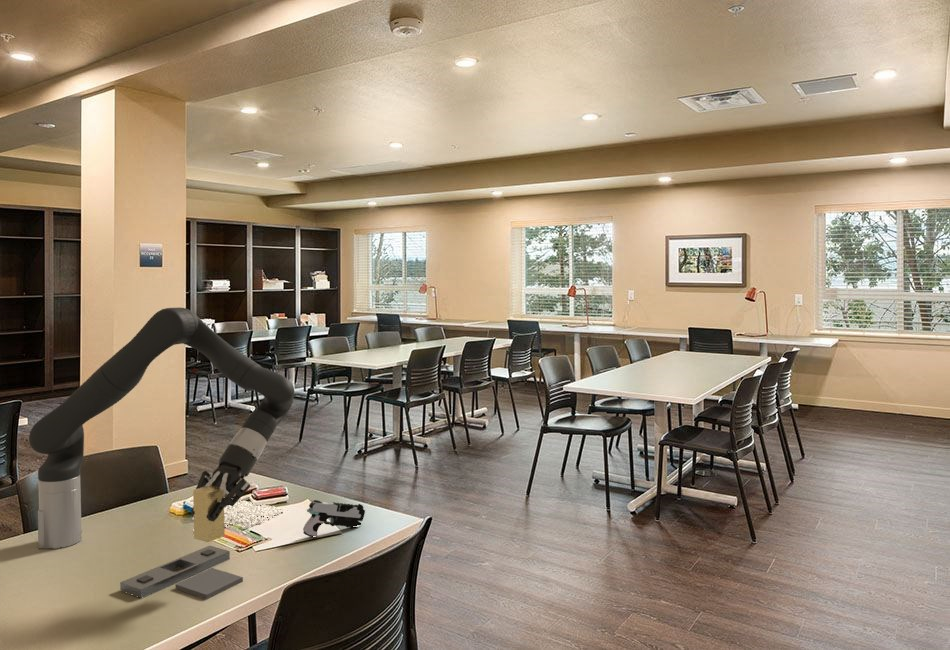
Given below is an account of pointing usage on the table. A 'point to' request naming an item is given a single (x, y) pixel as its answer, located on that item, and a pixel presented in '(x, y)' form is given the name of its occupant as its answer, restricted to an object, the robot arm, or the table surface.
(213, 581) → the mat
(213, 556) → the rail
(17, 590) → the table surface
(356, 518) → the toy gun
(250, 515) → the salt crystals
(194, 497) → the brass block
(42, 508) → the robot arm
